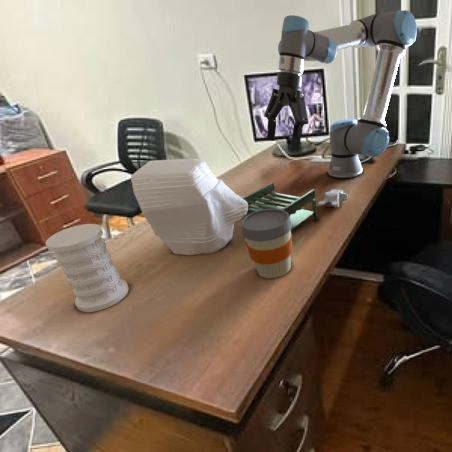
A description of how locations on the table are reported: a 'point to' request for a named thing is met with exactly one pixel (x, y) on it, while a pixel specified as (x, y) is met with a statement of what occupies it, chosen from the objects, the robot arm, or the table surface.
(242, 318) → the table surface
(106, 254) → the decorative container
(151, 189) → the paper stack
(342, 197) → the bunny figurine
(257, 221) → the reusable coffee cup
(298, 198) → the rack
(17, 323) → the table surface
